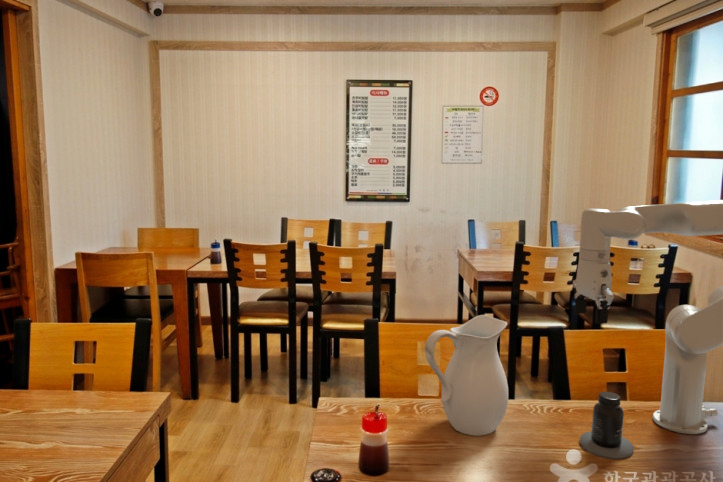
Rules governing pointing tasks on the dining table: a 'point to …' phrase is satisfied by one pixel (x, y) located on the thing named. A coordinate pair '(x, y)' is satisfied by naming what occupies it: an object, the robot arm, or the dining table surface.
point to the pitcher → (472, 376)
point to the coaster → (612, 453)
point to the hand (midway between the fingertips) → (590, 317)
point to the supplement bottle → (607, 421)
